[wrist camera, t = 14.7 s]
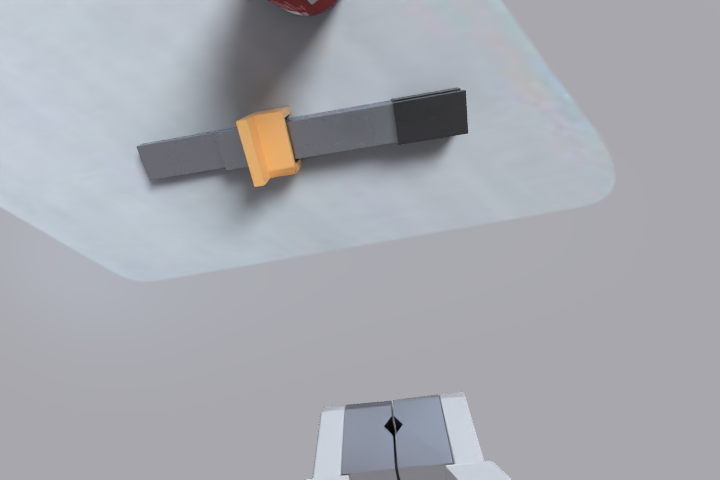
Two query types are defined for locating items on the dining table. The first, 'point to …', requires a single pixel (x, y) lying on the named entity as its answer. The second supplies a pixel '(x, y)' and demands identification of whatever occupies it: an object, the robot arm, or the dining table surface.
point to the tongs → (207, 148)
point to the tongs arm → (364, 127)
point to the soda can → (304, 6)
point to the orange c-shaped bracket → (267, 145)
